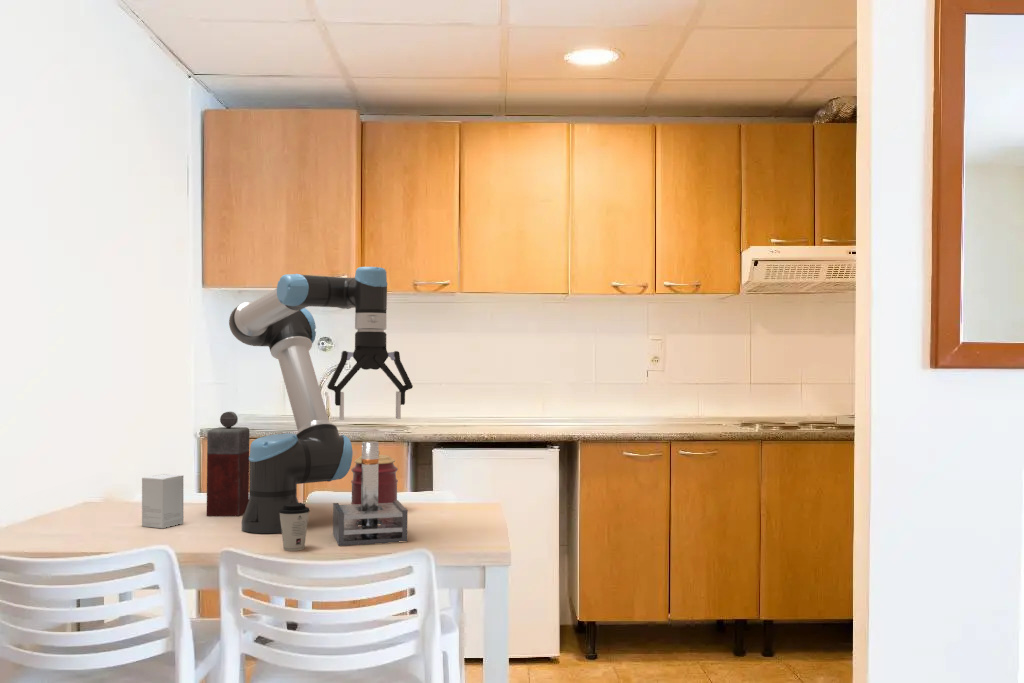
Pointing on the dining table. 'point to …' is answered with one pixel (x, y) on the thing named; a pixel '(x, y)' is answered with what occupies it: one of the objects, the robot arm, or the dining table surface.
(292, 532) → the coffee cup
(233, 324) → the robot arm
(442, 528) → the dining table surface
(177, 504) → the supplement box
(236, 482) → the square decanter
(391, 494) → the canister
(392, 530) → the collar stand
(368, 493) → the tube
